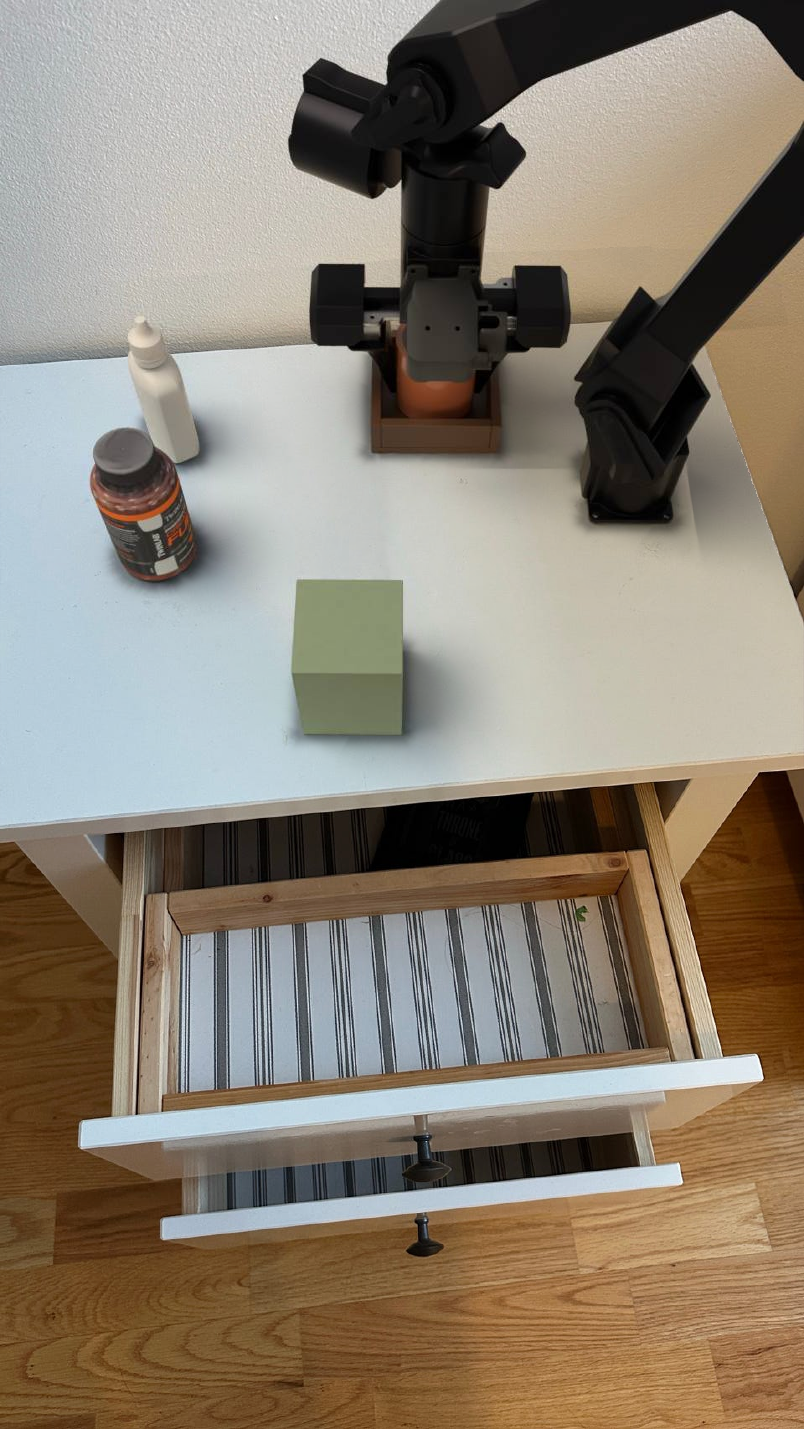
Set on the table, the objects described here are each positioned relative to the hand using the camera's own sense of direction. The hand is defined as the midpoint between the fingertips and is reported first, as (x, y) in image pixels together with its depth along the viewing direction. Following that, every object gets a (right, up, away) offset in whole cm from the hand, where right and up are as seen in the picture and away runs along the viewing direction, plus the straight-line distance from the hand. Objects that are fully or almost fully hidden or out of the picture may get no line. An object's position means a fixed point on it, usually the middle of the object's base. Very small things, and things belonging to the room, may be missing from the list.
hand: (434, 389), depth 79 cm
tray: (0, -1, +2) cm, 2 cm away
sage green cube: (-6, -25, -10) cm, 27 cm away
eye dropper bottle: (-21, -4, 0) cm, 21 cm away
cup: (0, 0, +1) cm, 1 cm away
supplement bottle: (-21, -14, -5) cm, 26 cm away
